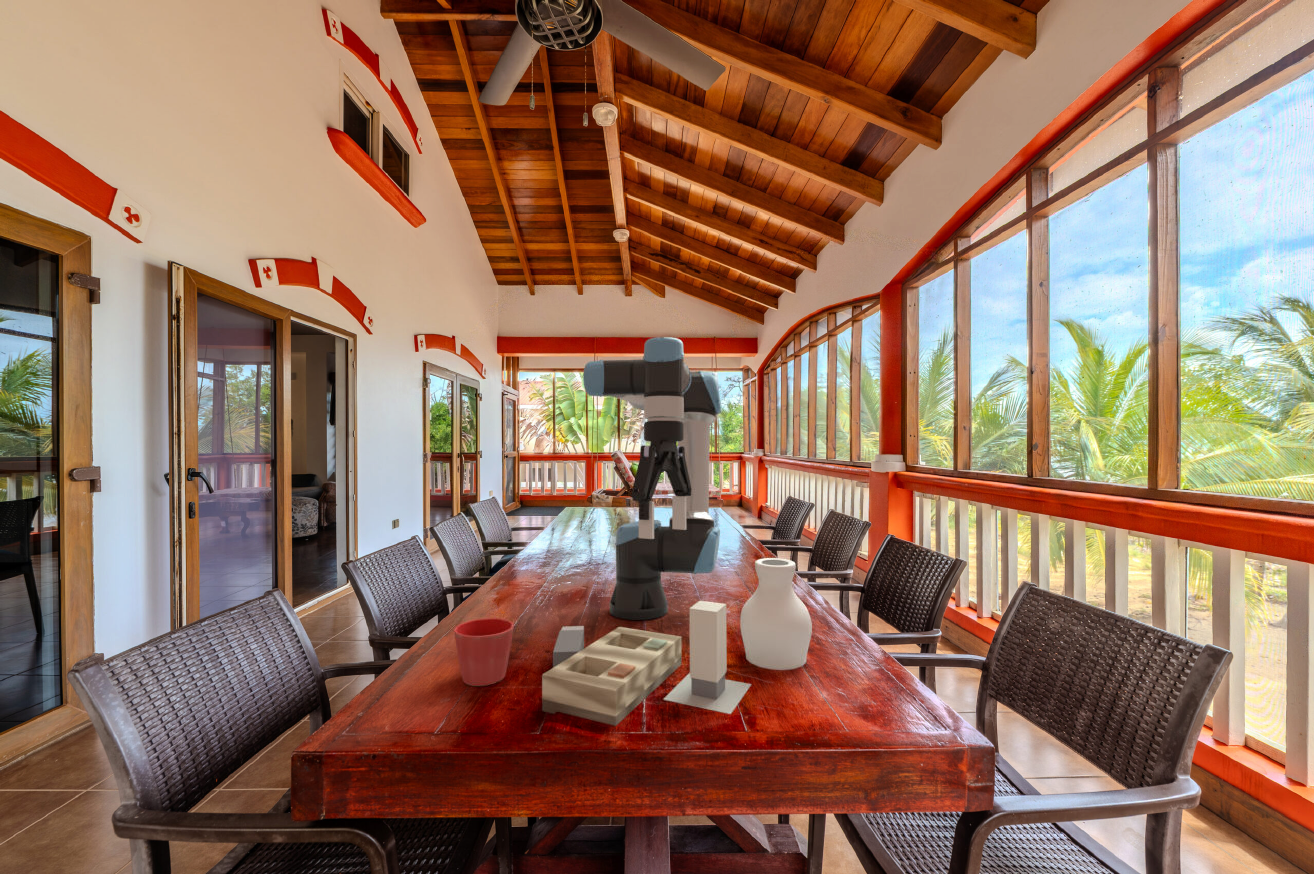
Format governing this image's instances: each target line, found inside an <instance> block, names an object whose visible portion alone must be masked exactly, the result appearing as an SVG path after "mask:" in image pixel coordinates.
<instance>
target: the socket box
mask: <svg viewBox="0 0 1314 874" xmlns="http://www.w3.org/2000/svg"><path fill="white" fill-rule="evenodd" d="M681 666H682V636H680V635H673V634H667V633H662V632H653V631H648V630H643V629H642V630H641V629H635V628H629V627H624V626H623V627H622V626H618V627H616V628H615V629H613V630H612V631H610V632H609V633H607V634H605V635H603V636H602V637H600V638H598V639H597V640H595V641H594V642H593V643H591V644H589V645H588V646H586V647H584V649H583V650H581V651H579V652H578V653H576V654H575V655H573V656H571V657H570V658H568V659H567V660H565V661H563V662H562V663H560V664H559V665H557V666H555V667H554V668H553V667H552V668H550V669H549V670H548V671H545V672H544V673H543V674H541V680H542V681H541V692H542V693H541V694H542V695H541V701H542V703H541V704H542V705H541V706H542V707H541V711H542V712H545V713H549V714H553V715H554V714H556V713H557V712H558V713H563V714H567V715H571V716H575V717H578V718H582V719H587V720H591V721H594V722H598V723H602V724H606V725H611V726H614V727H616V726H617V725H619V723H621V722H623V720H624V719H625V718H626V717H627V716H629V714H630V713H631V712H632V711H633V710H635V709H636V708H637V707H638V706H639V704H641V703H642V702H643V701H644V700H646V699H647V698H648V696H649V695H650V694H652V693H653V692H654V691H655V690H656V689H657V688H658V687H659V686H660V685H661V684H662V683H663V682H665V680H667V679H668V677H670V676H671V675H672V674H673V673H674V672H675V671H677V669H678V668H679V667H681Z"/></svg>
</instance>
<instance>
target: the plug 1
mask: <svg viewBox="0 0 1314 874" xmlns="http://www.w3.org/2000/svg"><path fill="white" fill-rule="evenodd" d="M584 648H585V626H584V625H573V626H562V628H561V630H559V633H558V635H557V638H556V641H555V644H554V648H553V651H552V668H554V667H555V666H557V665H559V664H560V663H562V662H563V661H565V660H567V659H568V658H570V657H571V656H573V655H575V654H576V653H578V652H579V651H581V650H583V649H584Z"/></svg>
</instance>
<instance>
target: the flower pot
mask: <svg viewBox="0 0 1314 874" xmlns="http://www.w3.org/2000/svg"><path fill="white" fill-rule="evenodd" d="M453 633H454V639H455V646H456V651H457V659H458V663H459V670H460V675H461V678H462V681H463V683H465V684H466V685H468V686H471V687H472V686H474V687H482V686H483V687H484V686H490V685H493V684H496V683H497V682H501V681H502V680H503V679H504V678H505V677H506V673H507V670H508V669H507V668H508V664H509V660H510V659H509V658H510V651H511V648H512V641H513V635H514V623H513V622H512V621H510V620H507V619H505V618H479V619H472V620H469V621H466V622H462V623H461V624H458V625H457V626H456V627H455V628H454V631H453Z"/></svg>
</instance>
